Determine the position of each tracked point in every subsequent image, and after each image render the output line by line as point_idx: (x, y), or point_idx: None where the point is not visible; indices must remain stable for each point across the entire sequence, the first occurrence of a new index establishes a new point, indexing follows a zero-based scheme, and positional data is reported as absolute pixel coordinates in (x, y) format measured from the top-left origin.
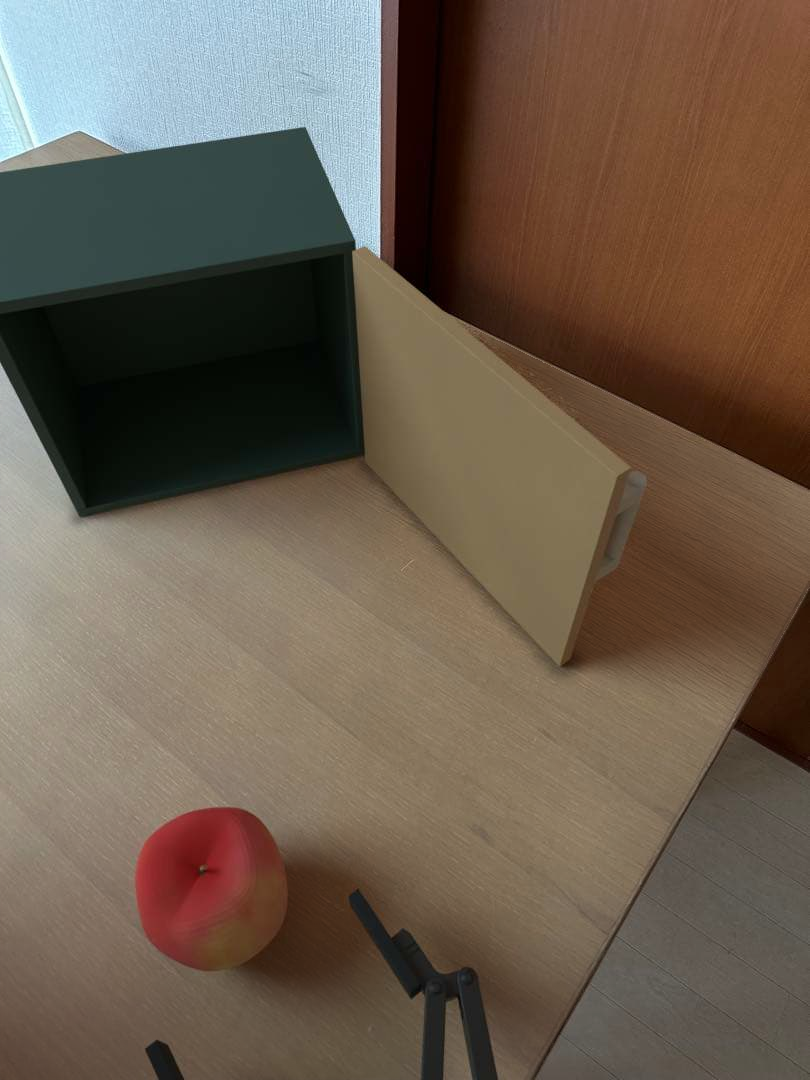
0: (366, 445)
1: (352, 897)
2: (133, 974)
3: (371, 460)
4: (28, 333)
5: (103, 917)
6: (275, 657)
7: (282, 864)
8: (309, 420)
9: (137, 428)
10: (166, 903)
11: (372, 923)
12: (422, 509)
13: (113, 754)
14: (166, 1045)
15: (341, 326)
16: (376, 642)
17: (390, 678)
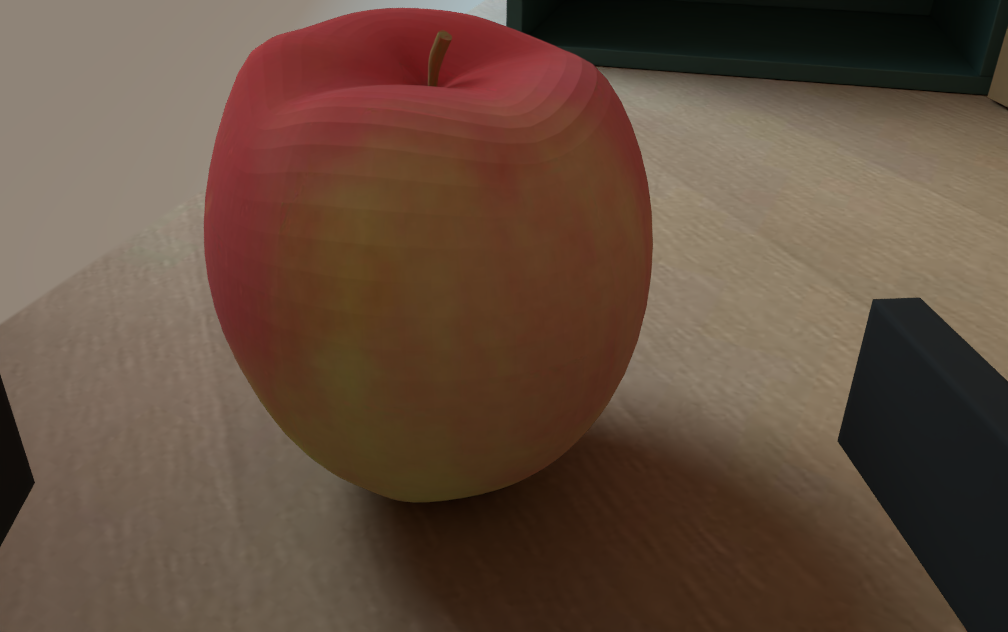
0: (1005, 47)
1: (890, 307)
2: (141, 467)
3: (1006, 79)
4: None
5: (176, 365)
6: (743, 203)
7: (651, 254)
8: (895, 49)
9: (629, 19)
10: (293, 72)
11: (970, 378)
12: None
13: None
14: (23, 457)
15: None
16: (975, 237)
17: (1003, 281)
